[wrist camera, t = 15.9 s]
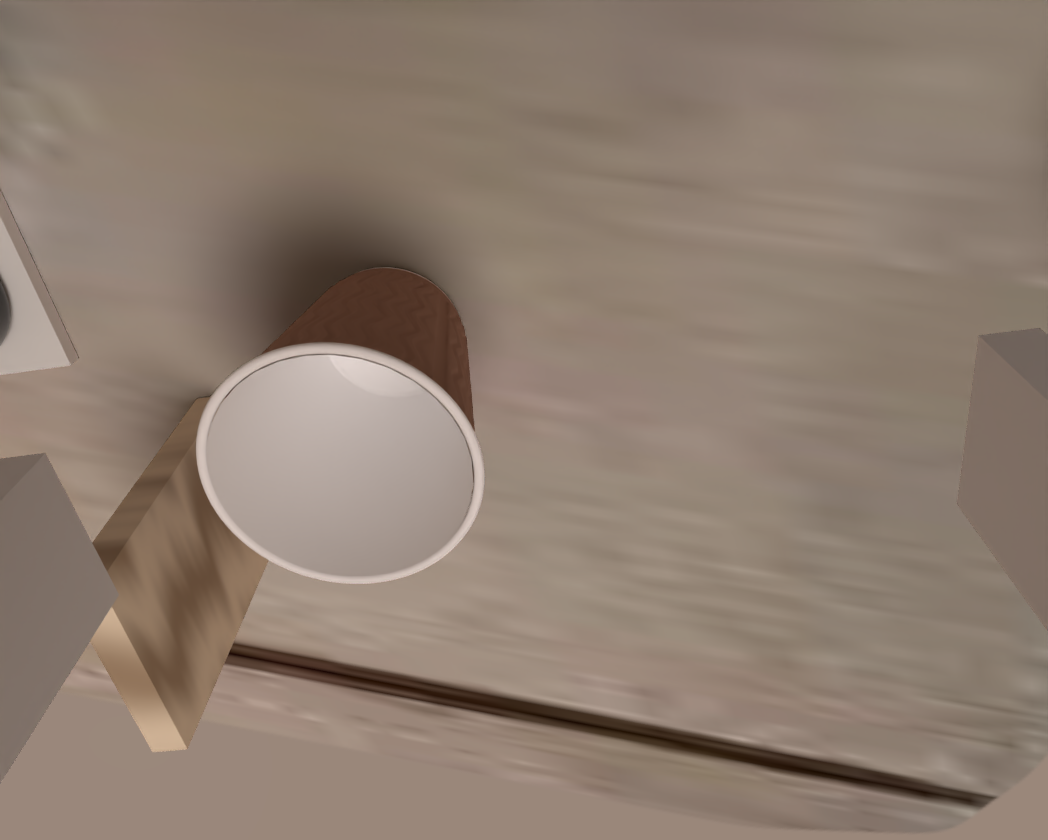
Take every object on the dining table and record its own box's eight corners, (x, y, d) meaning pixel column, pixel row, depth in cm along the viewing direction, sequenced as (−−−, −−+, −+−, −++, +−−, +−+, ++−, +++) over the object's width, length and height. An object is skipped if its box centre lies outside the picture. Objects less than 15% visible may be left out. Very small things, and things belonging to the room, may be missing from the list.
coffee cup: (239, 325, 40) (135, 464, 30) (388, 182, 37) (327, 283, 26) (395, 461, 44) (350, 626, 34) (543, 343, 41) (544, 487, 30)
